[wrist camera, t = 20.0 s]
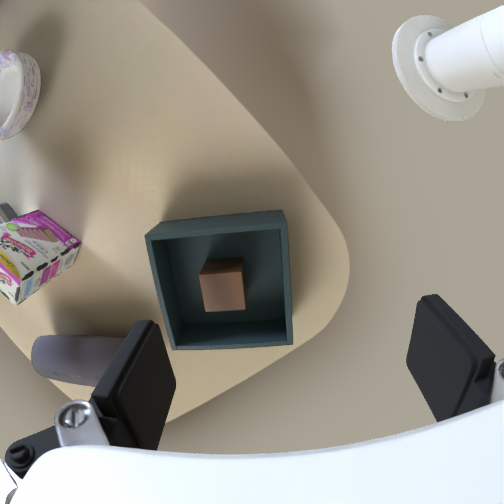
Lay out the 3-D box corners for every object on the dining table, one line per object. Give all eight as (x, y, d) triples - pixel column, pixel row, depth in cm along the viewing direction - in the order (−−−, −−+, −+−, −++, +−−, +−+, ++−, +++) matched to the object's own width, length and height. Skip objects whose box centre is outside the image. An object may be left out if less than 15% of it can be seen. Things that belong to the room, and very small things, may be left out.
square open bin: (282, 209, 42) (286, 221, 36) (289, 319, 48) (293, 344, 42) (160, 222, 43) (144, 235, 37) (181, 325, 49) (171, 350, 42)
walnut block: (243, 256, 44) (241, 271, 39) (247, 291, 46) (246, 309, 40) (205, 259, 44) (198, 274, 39) (211, 293, 46) (205, 312, 41)
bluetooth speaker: (64, 359, 53) (43, 388, 44) (48, 323, 50) (22, 350, 41) (157, 365, 52) (141, 403, 43) (143, 323, 49) (122, 359, 40)
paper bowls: (3, 151, 39) (-27, 156, 32) (-6, 82, 34) (-34, 80, 27) (58, 115, 38) (27, 114, 30) (48, 41, 33) (21, 31, 25)
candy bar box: (83, 240, 44) (21, 281, 29) (74, 264, 46) (17, 309, 30) (38, 206, 43) (-28, 234, 27) (31, 230, 44) (-31, 263, 29)
